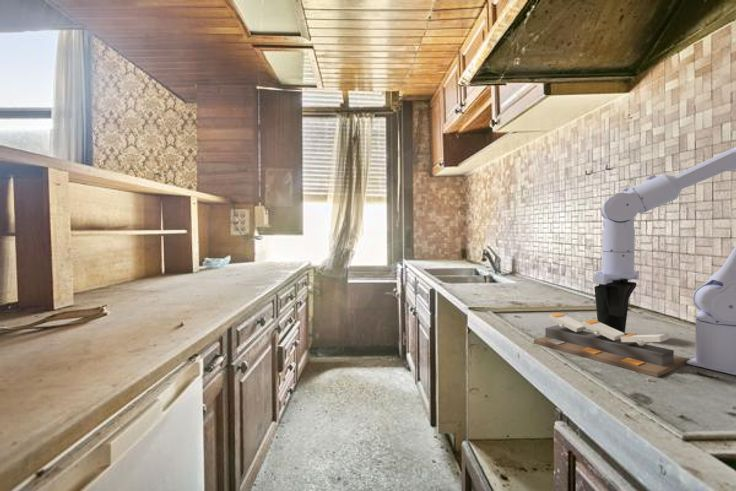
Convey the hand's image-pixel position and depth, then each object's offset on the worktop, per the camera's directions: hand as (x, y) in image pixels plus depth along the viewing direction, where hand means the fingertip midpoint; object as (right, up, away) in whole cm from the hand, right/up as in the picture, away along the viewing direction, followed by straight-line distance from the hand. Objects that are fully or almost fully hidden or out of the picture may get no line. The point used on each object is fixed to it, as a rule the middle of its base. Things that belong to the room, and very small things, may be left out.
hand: (616, 315), depth 80 cm
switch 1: (-6, -4, +10) cm, 12 cm away
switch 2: (-1, -5, +3) cm, 6 cm away
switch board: (-1, -8, +2) cm, 9 cm away
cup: (+9, -8, +16) cm, 20 cm away
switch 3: (+3, -5, -4) cm, 7 cm away
